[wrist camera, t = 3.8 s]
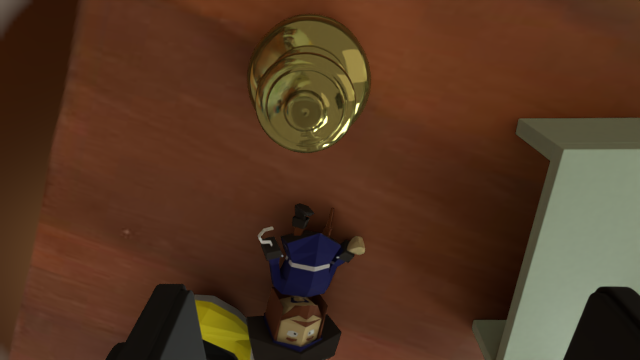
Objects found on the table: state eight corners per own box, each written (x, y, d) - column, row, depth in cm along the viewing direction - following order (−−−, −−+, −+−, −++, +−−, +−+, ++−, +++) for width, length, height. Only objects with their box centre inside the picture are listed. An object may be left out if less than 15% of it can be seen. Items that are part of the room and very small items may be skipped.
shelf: (471, 328, 38) (503, 404, 31) (518, 118, 29) (579, 160, 22) (597, 328, 38) (656, 404, 31) (685, 117, 28) (799, 159, 22)
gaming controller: (108, 346, 39) (191, 392, 42) (77, 398, 34) (173, 445, 37) (194, 258, 34) (281, 317, 37) (172, 304, 29) (275, 367, 32)
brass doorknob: (238, 85, 28) (196, 132, 19) (295, -13, 25) (278, -12, 16) (324, 140, 29) (324, 208, 20) (386, 55, 27) (418, 91, 18)
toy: (382, 221, 31) (342, 388, 33) (346, 198, 36) (315, 342, 39) (268, 212, 27) (234, 402, 30) (248, 188, 33) (221, 349, 35)
